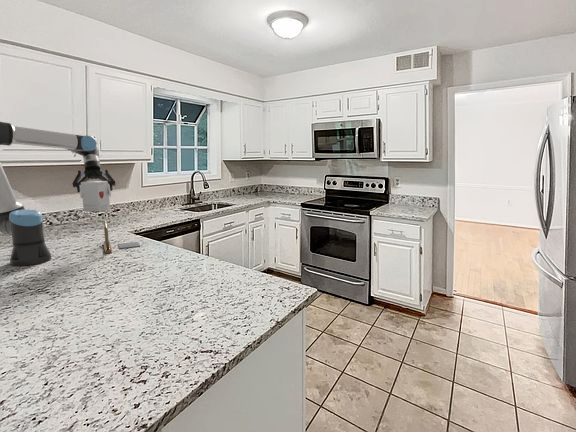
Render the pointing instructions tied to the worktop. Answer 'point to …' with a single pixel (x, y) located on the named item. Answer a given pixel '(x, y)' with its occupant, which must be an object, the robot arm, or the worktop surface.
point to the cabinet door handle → (106, 240)
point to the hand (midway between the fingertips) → (96, 195)
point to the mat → (129, 245)
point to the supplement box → (95, 195)
